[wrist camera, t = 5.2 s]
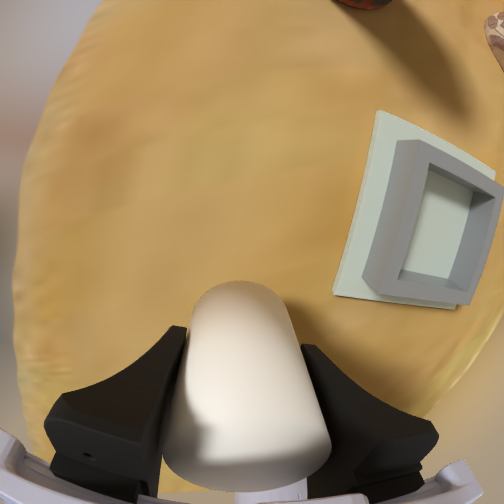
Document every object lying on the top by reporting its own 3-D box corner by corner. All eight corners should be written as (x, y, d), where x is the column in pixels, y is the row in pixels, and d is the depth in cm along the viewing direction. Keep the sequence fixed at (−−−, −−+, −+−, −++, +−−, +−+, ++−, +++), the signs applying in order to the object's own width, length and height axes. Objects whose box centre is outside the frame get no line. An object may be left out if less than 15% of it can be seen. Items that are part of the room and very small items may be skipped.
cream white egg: (275, 367, 15) (300, 491, 8) (186, 355, 15) (164, 483, 7) (300, 289, 14) (359, 414, 6) (197, 272, 13) (161, 400, 6)
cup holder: (450, 306, 20) (471, 323, 17) (331, 290, 19) (347, 313, 16) (490, 170, 16) (517, 175, 14) (376, 111, 15) (402, 104, 12)
